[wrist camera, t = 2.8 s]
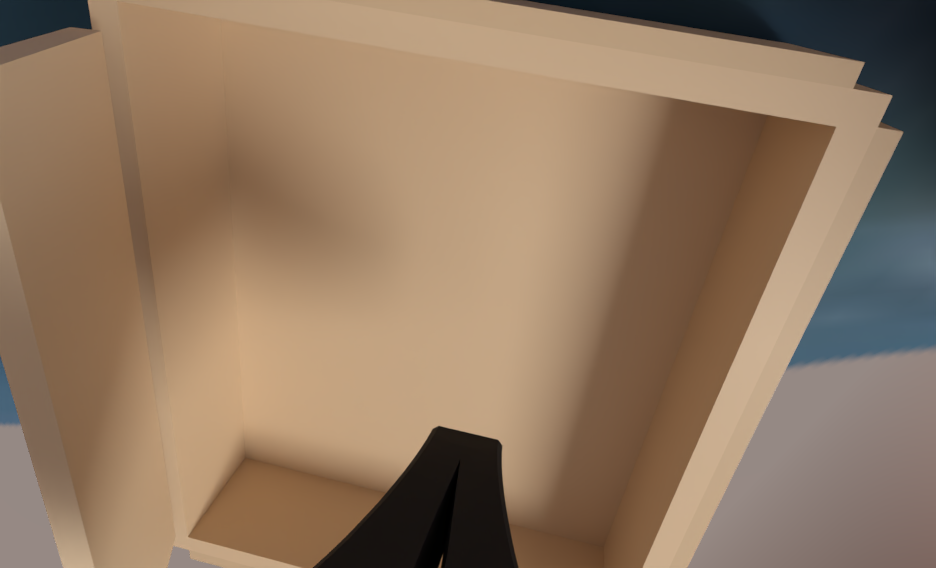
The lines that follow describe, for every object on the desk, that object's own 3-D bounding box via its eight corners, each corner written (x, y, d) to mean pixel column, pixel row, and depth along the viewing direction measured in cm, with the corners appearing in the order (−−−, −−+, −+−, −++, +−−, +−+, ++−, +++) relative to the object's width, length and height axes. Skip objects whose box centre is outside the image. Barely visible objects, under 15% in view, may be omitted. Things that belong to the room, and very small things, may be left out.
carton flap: (-31, 76, 7) (-84, 71, 7) (130, 706, 13) (105, 709, 13) (101, 30, 10) (70, 27, 10) (175, 536, 17) (156, 538, 17)
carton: (833, 50, 12) (931, 73, 9) (624, 558, 20) (632, 677, 17) (207, -52, 14) (77, -67, 10) (239, 462, 22) (172, 553, 18)
